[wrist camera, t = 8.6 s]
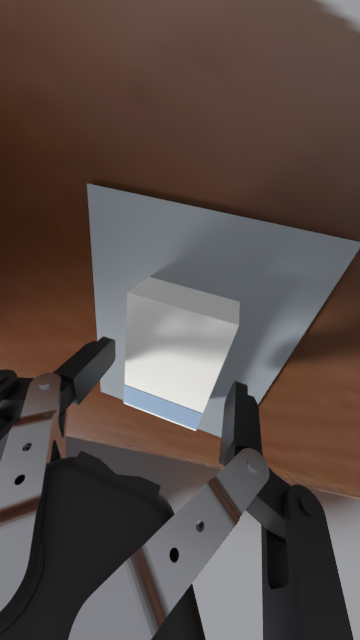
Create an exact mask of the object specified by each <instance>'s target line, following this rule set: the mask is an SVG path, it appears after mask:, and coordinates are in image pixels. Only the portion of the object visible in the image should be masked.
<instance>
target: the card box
mask: <svg viewBox="0 0 360 640" xmlns="http://www.w3.org/2000/svg"><path fill="white" fill-rule="evenodd" d="M239 310H240V302H239V301H235V300H232V299H228V298H225V297H221V296H217V295H214V294H210V293H207V292H203V291H199V290H196V289H192V288H188V287H185V286H181V285H178V284H174V283H170V282H167V281H163V280H159V279H156V278H152V277H148V278H147V279H145V280H144V281H142V282H141V283H140V284H138V285H137V286H136V287H134V288H133V289H131V290H130V291H129V292H127V316H126V349H125V383H124V399H123V402H124V404H126V405H129V406H132V407H134V408H137V409H139V410H142V411H145V412H147V413H150V414H152V415H155V416H158V417H160V418H163V419H165V420H168V421H171V422H173V423H176V424H178V425H181V426H184V427H186V428H189V429H191V430H194V431H196V430H197V428H198V425H199V423H200V420H201V418H202V416H203V412H204V410H205V407H206V405H207V402H208V400H209V397H210V395H211V393H212V390H213V388H214V385H215V383H216V380H217V378H218V375H219V373H220V371H221V368H222V366H223V363H224V361H225V358H226V356H227V354H228V351H229V349H230V346H231V344H232V341H233V339H234V337H235V334H236V332H237V329H238V327H239Z"/></svg>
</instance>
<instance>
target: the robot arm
mask: <svg viewBox="0 0 360 640" xmlns="http://www.w3.org/2000/svg"><path fill="white" fill-rule="evenodd" d="M115 356H116V352H115V340H114V339H111V338H108V337H105V336H103V337H101V338H100V339H99V340H98V341H97V342H95V341H93V342H90V343H88V344H86V345H85V346H83V347H82V348H81V349H80V350H79V351H78V352H76V353H75V354H74V355H73V356H72V357H71V358H70V359H68V360H67V361H66V362H65V363H64V364H63V365H61V366H60V367H59V368H58V369H57V370H56V371H54V372H53V373H45V374H42V375H39V376H37V377H36V378H19V377H17V375H16V373H15V372H14V371H12V370H0V440H1V439H2V438H3V437H4V436H5V435H6V434H7V433H8V431H10V434H9V437H8V440H7V443H6V447H5V450H4V453H3V457H2V460H1V463H0V640H206V639H205V635H204V631H203V627H202V623H201V618H200V615H199V610H198V606H197V602H196V598H195V594H194V590H193V585H192V582H193V581H194V580H195V578H196V577H197V576H198V574H199V573H200V572H201V570H202V569H203V568H204V567H205V565H206V564H207V563H208V561H209V560H210V558H211V557H212V556H213V555H214V553H215V552H216V550H217V549H218V548H219V547H220V545H221V544H222V542H223V541H224V540H225V539H226V537H227V536H228V535H229V533H230V532H231V531H232V529H233V528H234V527H235V525H236V524H237V522H238V521H239V518H240V516H241V515H242V514H243V512H244V511H245V510H246V511H247V512H248V513H250V514H251V515H252V516H253V517H254V518H255V519H256V520H257V521H258V522H259V523H261V529H262V595H263V640H353V636H352V631H351V627H350V622H349V618H348V614H347V609H346V605H345V600H344V596H343V591H342V587H341V583H340V579H339V574H338V569H337V565H336V561H335V556H334V552H333V548H332V544H331V539H330V534H329V530H328V526H327V521H326V517H325V513H324V510H323V507H322V506H321V504H320V502H319V501H318V499H317V498H316V496H315V495H314V494H313V493H312V492H311V491H310V490H309V489H307V488H306V487H304V486H301V485H293V486H290V485H289V484H288V483H286V482H285V481H284V480H282V479H281V478H280V477H278V476H277V475H276V474H275V473H274V472H273V471H272V470H271V469H270V468H269V467H268V464H267V462H266V460H265V459H264V457H263V454H262V445H261V433H260V423H259V422H260V420H259V408H258V404H257V402H256V400H255V398H254V397H253V396H250V395H248V386H247V385H246V384H243V383H240V382H237V381H234V382H233V384H232V386H231V388H230V391H229V393H228V395H227V397H226V400H225V404H224V414H223V425H222V436H221V447H220V457H219V463H220V464H222V465H225V467H224V468H223V469H222V470H221V471H220V472H219V473H218V474H217V475H216V476H215V477H214V478H213V479H211V480H209V481H208V482H207V483H206V484H205V485H204V486H203V487H202V488H201V489H200V490H199V491H198V492H197V493H196V494H195V495H194V496H193V497H192V498H191V499H190V500H189V501H188V502H187V503H186V504H185V505H184V506H183V507H182V508H181V509H180V510H179V511H178V512H177V513H176V514H174V512H173V510H172V508H171V506H170V504H169V503H168V501H167V500H166V499H165V497H164V496H163V495H162V494H161V493H160V492H159V489H160V485H158V484H155V483H153V482H151V481H149V480H146V479H144V478H142V477H137V476H126V475H117V474H115V473H114V472H113V471H112V470H111V469H110V468H109V467H108V466H107V465H106V464H104V463H103V462H102V461H101V460H100V459H98V458H96V457H93V456H92V455H89V454H87V453H85V452H83V451H81V452H80V453H79V455H78V456H77V457H67V458H66V456H65V455H66V453H65V452H66V451H65V436H66V424H67V412H68V407H69V406H70V405H71V403H73V404H75V405H79V404H80V403H81V402H82V401H83V399H84V398H85V397H86V396H87V395H88V393H89V392H90V391H91V390H92V389H93V387H94V386H95V385H96V384H97V383H98V381H99V380H100V379H101V378H102V377H103V375H104V374H105V373H106V372H107V371H108V369H109V368H110V367H111V366H112V365H113V363H114V361H115Z"/></svg>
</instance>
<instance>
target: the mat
mask: <svg viewBox="0 0 360 640" xmlns="http://www.w3.org/2000/svg"><path fill="white" fill-rule="evenodd" d="M87 193H88V208H89V222H90V237H91V252H92V266H93V281H94V296H95V310H96V325H97V339H98V340H99V339H100V338H101V337H103V336H105V337H108V338H111V339H114V340H115V352H116V356H115V361H114V363H113V365H112V366H111V367H110V368H109V369H108V371H107V372H106V373H105V374H104V375H103V377H102V378H101V379H100V383H101V392H104V393H106V394H109V395H112V396H114V397H117V398H119V399H122V400H123V399H124V383H125V349H126V316H127V292H129V291H130V290H131V289H133V288H134V287H136V286H137V285H138V284H140V283H141V282H142V281H144V280H145V279H147V278H148V277H152V278H156V279H159V280H163V281H167V282H170V283H174V284H178V285H181V286H185V287H188V288H192V289H196V290H199V291H203V292H207V293H210V294H214V295H217V296H221V297H225V298H228V299H232V300H235V301H239V302H240V310H239V327H238V329H237V332H236V334H235V337H234V339H233V341H232V344H231V346H230V349H229V351H228V354H227V356H226V358H225V361H224V363H223V366H222V368H221V371H220V373H219V375H218V378H217V380H216V383H215V385H214V388H213V390H212V393H211V395H210V397H209V400H208V402H207V405H206V407H205V410H204V412H203V416H202V418H201V420H200V423H199V425H198V429H200V430H203V431H206V432H208V433H211V434H213V435H216V436H219V437H221V436H222V425H223V414H224V404H225V400H226V397H227V395H228V393H229V391H230V388H231V386H232V384H233V382H234V381H237V382H240V383H243V384H246V385H247V386H248V395H250V396H253V397H254V398H255V400H256V402H257V404H259V402H260V401H261V399H262V398H263V396H264V395H265V393H266V391H267V390H268V388H269V387H270V385H271V384H272V382H273V381H274V379H275V378H276V376H277V375H278V373H279V372H280V370H281V368H282V367H283V365H284V364H285V362H286V361H287V359H288V358H289V356H290V355H291V353H292V352H293V350H294V348H295V347H296V345H297V344H298V342H299V341H300V339H301V338H302V336H303V335H304V333H305V332H306V330H307V329H308V327H309V325H310V324H311V322H312V321H313V319H314V318H315V316H316V315H317V313H318V312H319V310H320V309H321V307H322V306H323V304H324V302H325V301H326V299H327V298H328V296H329V295H330V293H331V292H332V290H333V289H334V287H335V286H336V284H337V282H338V281H339V279H340V278H341V276H342V275H343V273H344V272H345V270H346V269H347V267H348V266H349V264H350V263H351V261H352V259H353V258H354V256H355V255H356V253H357V252H358V250H359V249H360V242H358V241H353V240H349V239H344V238H339V237H335V236H330V235H326V234H321V233H316V232H312V231H307V230H302V229H298V228H293V227H288V226H284V225H279V224H274V223H270V222H265V221H260V220H256V219H251V218H247V217H242V216H237V215H233V214H228V213H223V212H219V211H214V210H209V209H205V208H200V207H195V206H191V205H186V204H181V203H177V202H172V201H167V200H163V199H158V198H154V197H149V196H144V195H140V194H135V193H130V192H126V191H121V190H116V189H112V188H107V187H102V186H98V185H93V184H88V183H87Z"/></svg>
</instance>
